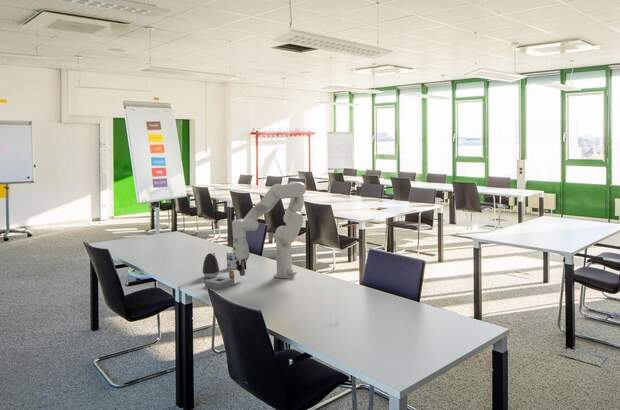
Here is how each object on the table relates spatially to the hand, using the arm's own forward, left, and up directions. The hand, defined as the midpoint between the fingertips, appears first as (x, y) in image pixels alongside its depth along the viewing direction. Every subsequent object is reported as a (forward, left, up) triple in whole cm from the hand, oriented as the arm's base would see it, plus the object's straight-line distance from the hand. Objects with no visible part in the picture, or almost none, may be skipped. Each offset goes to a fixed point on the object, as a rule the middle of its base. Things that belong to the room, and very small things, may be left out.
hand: (241, 269), depth 296 cm
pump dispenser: (+23, +4, -7) cm, 24 cm away
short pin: (+10, -1, -7) cm, 12 cm away
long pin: (0, 0, -3) cm, 3 cm away
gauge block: (+4, +15, -7) cm, 17 cm away
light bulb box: (+28, -23, -7) cm, 37 cm away
